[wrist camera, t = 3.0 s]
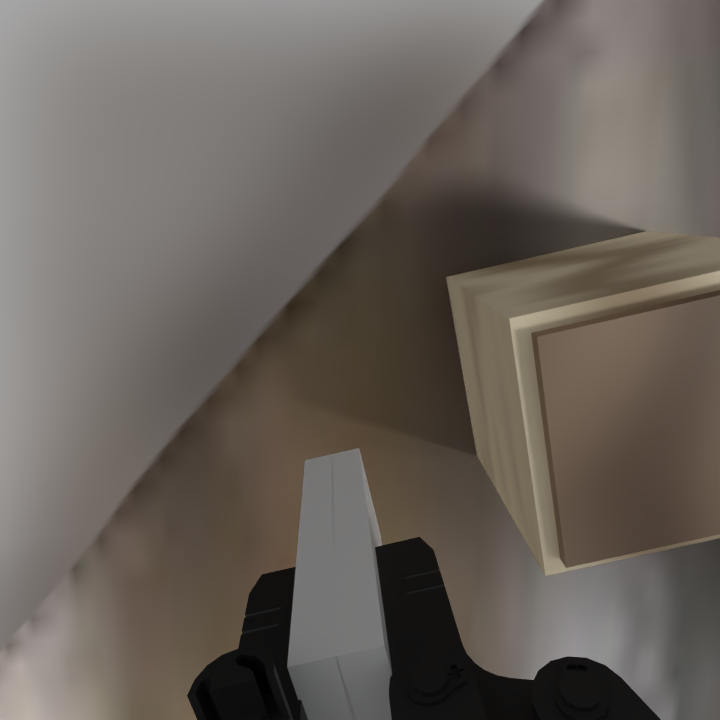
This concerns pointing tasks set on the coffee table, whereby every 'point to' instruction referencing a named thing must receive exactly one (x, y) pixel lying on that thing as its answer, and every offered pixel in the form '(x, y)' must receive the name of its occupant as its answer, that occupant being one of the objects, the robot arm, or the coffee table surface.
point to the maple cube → (598, 394)
